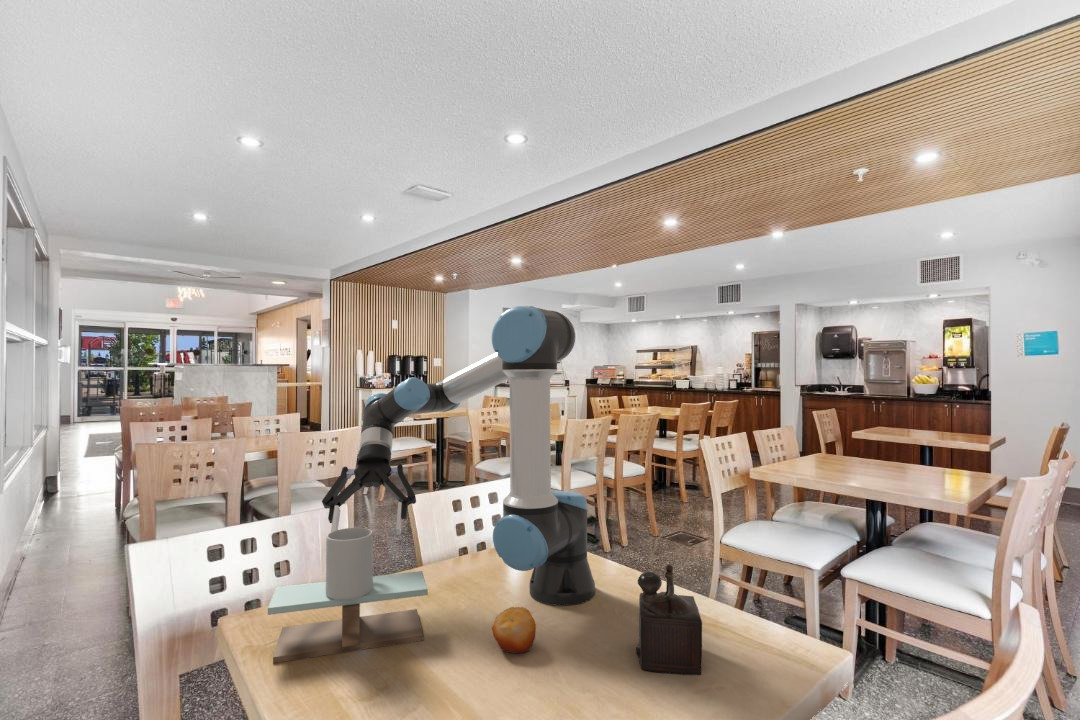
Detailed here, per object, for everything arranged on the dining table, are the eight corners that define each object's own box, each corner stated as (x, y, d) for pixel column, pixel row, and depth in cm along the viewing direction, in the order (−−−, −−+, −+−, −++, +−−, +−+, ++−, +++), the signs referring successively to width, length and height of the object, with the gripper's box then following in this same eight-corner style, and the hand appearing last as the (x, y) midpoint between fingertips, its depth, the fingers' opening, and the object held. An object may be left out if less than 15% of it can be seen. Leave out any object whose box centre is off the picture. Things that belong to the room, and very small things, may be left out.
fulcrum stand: (416, 613, 117) (416, 575, 117) (422, 640, 105) (422, 598, 105) (282, 632, 109) (282, 591, 109) (272, 663, 97) (273, 617, 97)
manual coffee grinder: (634, 641, 105) (634, 546, 105) (694, 645, 103) (694, 548, 103) (637, 688, 89) (637, 576, 90) (708, 693, 88) (707, 579, 88)
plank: (422, 576, 116) (422, 570, 116) (427, 595, 107) (427, 588, 107) (276, 593, 108) (276, 587, 108) (267, 614, 98) (267, 608, 98)
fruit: (545, 629, 107) (538, 602, 103) (533, 668, 100) (525, 641, 96) (506, 623, 109) (498, 596, 105) (492, 661, 103) (483, 634, 99)
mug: (357, 602, 100) (357, 542, 101) (316, 598, 102) (316, 538, 102) (389, 578, 112) (389, 523, 112) (351, 574, 114) (351, 521, 114)
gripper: (429, 456, 138) (426, 538, 123) (324, 461, 134) (309, 545, 120) (427, 439, 132) (424, 522, 118) (318, 444, 129) (301, 529, 115)
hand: (366, 534), depth 119 cm, fingers open, 13 cm apart
